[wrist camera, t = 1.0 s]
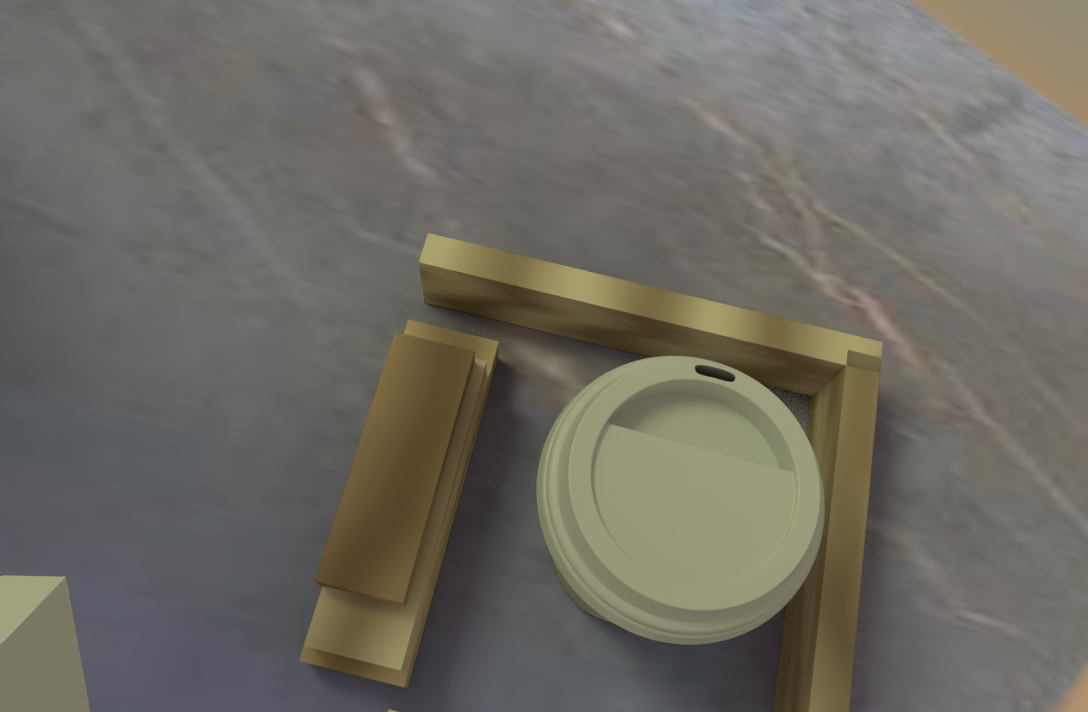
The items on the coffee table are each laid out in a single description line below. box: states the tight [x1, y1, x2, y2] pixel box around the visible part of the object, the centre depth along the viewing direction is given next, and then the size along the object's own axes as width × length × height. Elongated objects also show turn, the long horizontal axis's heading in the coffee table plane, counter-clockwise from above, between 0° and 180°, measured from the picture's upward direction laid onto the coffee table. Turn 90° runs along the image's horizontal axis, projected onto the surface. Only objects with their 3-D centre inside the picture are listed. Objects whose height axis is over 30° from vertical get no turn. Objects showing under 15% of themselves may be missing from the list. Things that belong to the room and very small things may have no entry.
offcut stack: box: [299, 319, 499, 688], centre depth 38 cm, size 4×16×5 cm, turn 167°
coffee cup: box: [537, 356, 825, 645], centre depth 34 cm, size 10×10×15 cm
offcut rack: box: [419, 233, 883, 712], centre depth 39 cm, size 22×22×4 cm
